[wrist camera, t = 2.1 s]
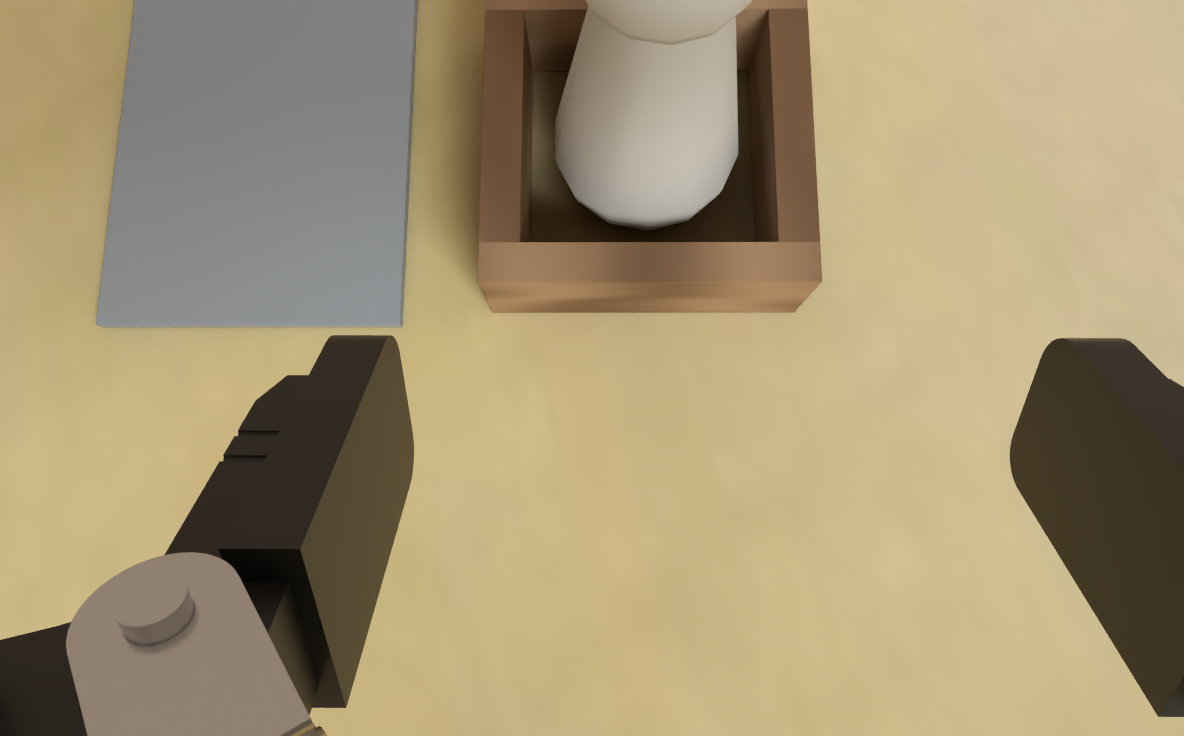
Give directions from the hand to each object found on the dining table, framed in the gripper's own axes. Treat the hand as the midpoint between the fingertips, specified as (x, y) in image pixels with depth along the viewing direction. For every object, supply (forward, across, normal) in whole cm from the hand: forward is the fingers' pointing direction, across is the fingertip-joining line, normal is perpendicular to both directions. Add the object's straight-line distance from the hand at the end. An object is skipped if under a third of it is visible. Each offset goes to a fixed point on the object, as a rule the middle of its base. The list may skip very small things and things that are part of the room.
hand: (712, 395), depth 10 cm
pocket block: (+19, 0, +4) cm, 19 cm away
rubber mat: (+19, +13, +3) cm, 24 cm away
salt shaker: (+19, 0, +4) cm, 19 cm away
